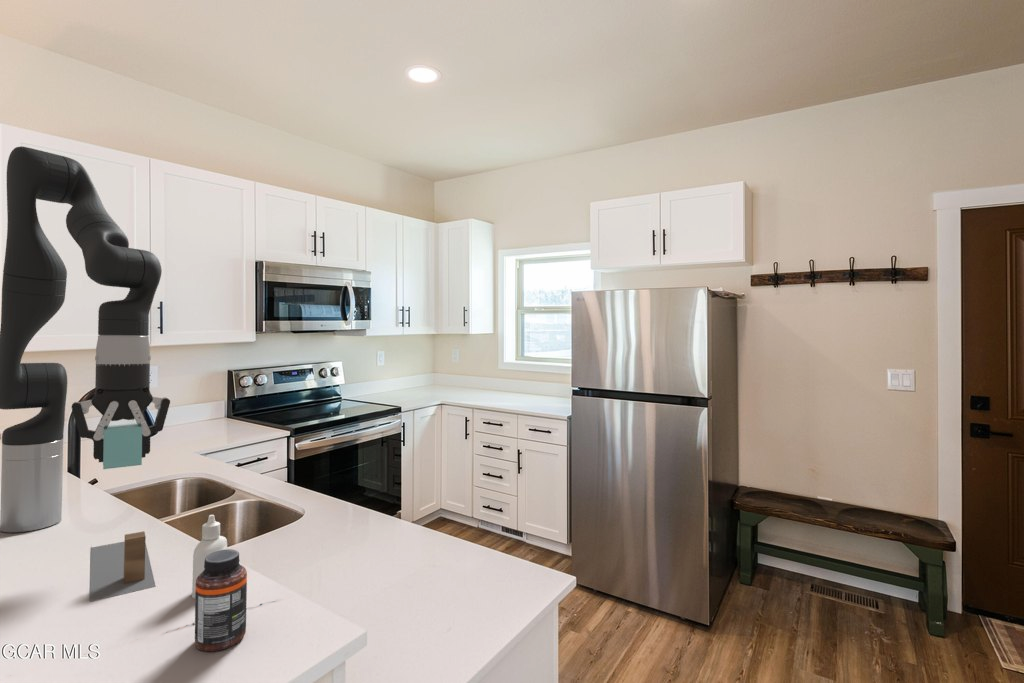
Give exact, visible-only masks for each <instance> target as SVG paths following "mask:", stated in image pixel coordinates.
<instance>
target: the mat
mask: <svg viewBox="0 0 1024 683" xmlns="http://www.w3.org/2000/svg"><path fill="white" fill-rule="evenodd" d="M124 542H125V540H124V541H120V542H114V543H109V544H103V545H102V544H101V545H99V546H91V547H90V564H89V565H90V566H89V567H90V569H89V571H90V573H89V578H90V579H89V603H93V602H96V601H101V600H104V599H110V598H113V597H118V596H123V595H126V594H129V593H134V592H139V591H143V590H148V589H151V588H155V587H157V586H156V582H155V577H154V573H153V569H152V565H151V560H150V557H149V552H148V547H147V543H146V542H147V541H145V580H140V581H136V582H131V583H127V584H124Z"/></svg>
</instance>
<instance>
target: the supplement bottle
mask: <svg viewBox="0 0 1024 683" xmlns="http://www.w3.org/2000/svg"><path fill="white" fill-rule="evenodd" d="M204 568H205V569H204V571H203V572H202V573H200V575H199V576H198V577H197V579H196V589H195V590H196V592H195V603H194V604H195V605H194V606H195V607H194V644H195V647H196V648H197V649H199V650H201V651H203V652H216V651H222V650H221V649H223V650H226V649H229V648H230V647H232V646H234V645H236V644H237V643H239V642H240V641H241V640H242V639H243V638H244V637H245V634H246V632H247V596H248V593H247V591H248V586H247V585H248V583H247V582H248V573H247V572H248V571H247V569H246V567H245V566H243V565H242V564H240V552H239V551H238V550H236V549H228V548H227V549H226V550H219V551H215V552H213V553H210V554H209V555H207V556H206V557H205V562H204ZM225 648H226V649H225Z"/></svg>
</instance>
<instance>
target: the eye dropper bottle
mask: <svg viewBox="0 0 1024 683" xmlns="http://www.w3.org/2000/svg"><path fill="white" fill-rule="evenodd" d="M201 526H202V528H201V540H200V542H198V544H197V545H196V547H195V548H194V550H193V554H192V558H193V560H192V587H191V592H192V593H191V597H192V599H195V592H196V590H195V589H196V579H197V577H198V576H199V575H200V573H202V572H203V571H204V569H205V568H204V562H205V557H206V556H207V555H209V554H210V553H213V552H215V551H219V550H226V549H228V539H227V538H226V537H225V536H223V535H221V523H220V521H216V519H215V515H214V514H209V515H208V519H207V522H205V523H204V524H202V525H201Z"/></svg>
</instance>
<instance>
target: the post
mask: <svg viewBox="0 0 1024 683" xmlns="http://www.w3.org/2000/svg"><path fill="white" fill-rule="evenodd" d="M146 537H147V536H146V533H145V530H144V531H138V532H132V533H126V534H124V541H125V542H124V541H123V542H124V584H127V583H131V582H136V581H140V580H145V542H146Z"/></svg>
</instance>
